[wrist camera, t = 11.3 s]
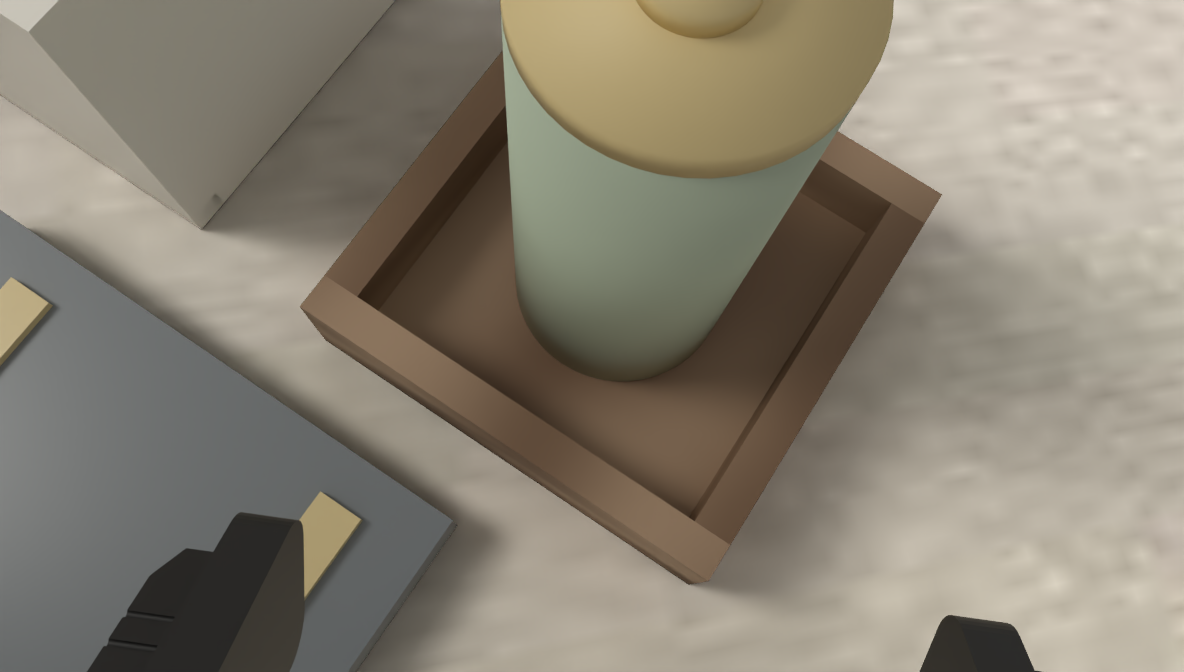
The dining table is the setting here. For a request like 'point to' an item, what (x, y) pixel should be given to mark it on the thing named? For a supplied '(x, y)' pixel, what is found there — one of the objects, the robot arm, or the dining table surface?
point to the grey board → (167, 475)
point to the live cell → (664, 158)
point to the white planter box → (176, 82)
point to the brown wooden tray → (599, 407)
